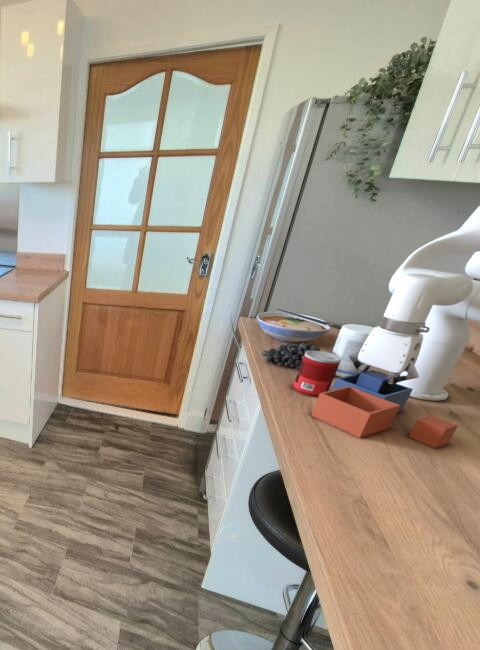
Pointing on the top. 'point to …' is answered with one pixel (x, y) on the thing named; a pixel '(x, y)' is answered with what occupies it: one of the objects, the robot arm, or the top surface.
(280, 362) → the fruit
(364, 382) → the blue block
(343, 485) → the top surface
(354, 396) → the terracotta bin
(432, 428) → the terracotta block
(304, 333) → the ramen bowl
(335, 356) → the canned food
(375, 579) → the top surface
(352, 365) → the supplement tub
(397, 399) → the blue bin
